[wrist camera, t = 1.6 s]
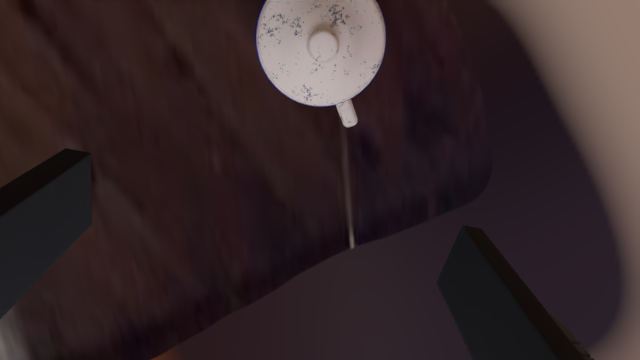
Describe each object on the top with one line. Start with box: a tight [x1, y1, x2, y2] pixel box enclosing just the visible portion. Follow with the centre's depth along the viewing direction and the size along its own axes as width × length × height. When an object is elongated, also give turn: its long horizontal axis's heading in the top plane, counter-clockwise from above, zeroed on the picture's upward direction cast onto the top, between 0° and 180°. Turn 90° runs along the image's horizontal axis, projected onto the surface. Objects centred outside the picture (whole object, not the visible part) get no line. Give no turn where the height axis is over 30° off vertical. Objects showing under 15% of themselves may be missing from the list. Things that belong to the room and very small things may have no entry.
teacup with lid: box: [255, 0, 387, 127], centre depth 29 cm, size 12×9×12 cm
